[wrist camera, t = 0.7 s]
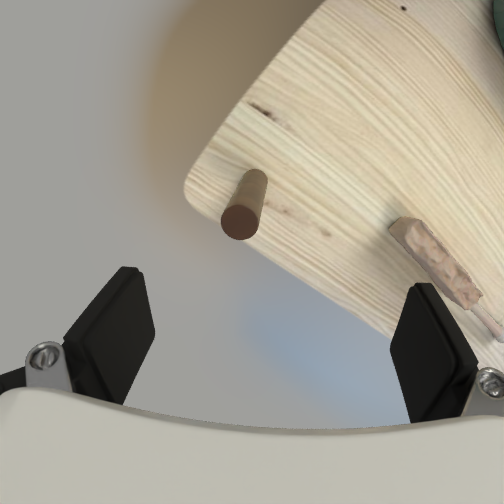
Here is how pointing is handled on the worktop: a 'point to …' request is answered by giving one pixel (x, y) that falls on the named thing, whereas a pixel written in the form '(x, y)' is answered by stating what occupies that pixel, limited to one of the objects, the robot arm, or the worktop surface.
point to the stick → (245, 206)
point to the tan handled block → (442, 268)
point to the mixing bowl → (499, 19)
